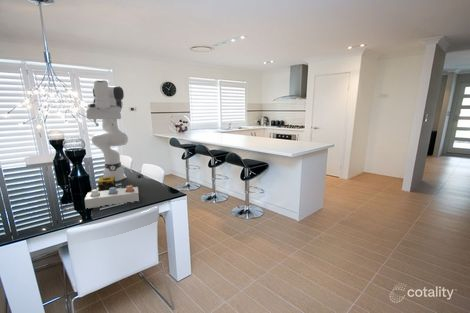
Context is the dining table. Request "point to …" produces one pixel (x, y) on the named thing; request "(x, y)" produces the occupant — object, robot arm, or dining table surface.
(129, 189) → the key rust
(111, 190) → the key blue
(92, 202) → the console
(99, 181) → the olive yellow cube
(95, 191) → the key white
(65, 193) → the dining table surface
